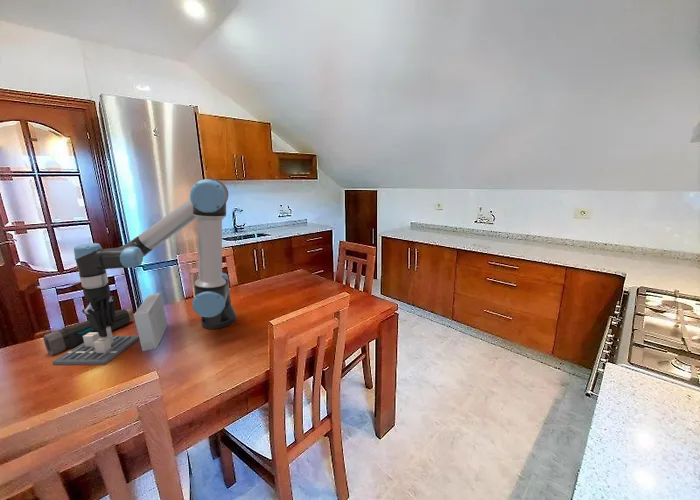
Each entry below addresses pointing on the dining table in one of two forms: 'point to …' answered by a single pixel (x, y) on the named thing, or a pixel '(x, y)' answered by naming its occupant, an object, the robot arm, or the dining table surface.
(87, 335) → the fader
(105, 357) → the console
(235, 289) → the dining table surface
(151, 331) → the skincare box
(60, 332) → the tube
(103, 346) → the fader
